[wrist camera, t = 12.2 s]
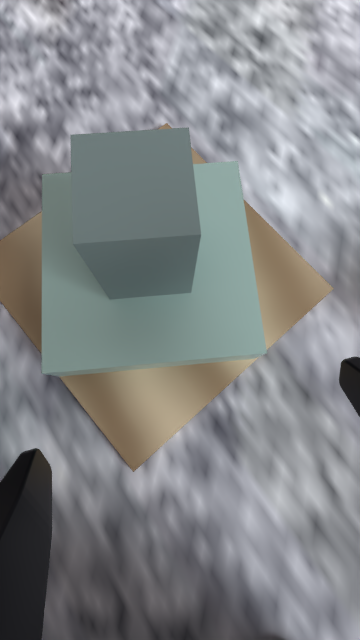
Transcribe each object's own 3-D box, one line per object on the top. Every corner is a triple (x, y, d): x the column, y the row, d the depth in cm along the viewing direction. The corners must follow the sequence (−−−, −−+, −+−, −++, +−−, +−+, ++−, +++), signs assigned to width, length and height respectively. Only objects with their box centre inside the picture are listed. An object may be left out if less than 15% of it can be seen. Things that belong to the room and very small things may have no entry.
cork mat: (134, 469, 17) (133, 471, 16) (-27, 264, 19) (-31, 261, 19) (330, 290, 19) (333, 288, 19) (166, 128, 22) (166, 123, 21)
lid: (254, 358, 18) (324, 327, 10) (60, 376, 17) (-44, 360, 9) (229, 189, 20) (269, 46, 12) (58, 201, 20) (-26, 62, 11)
